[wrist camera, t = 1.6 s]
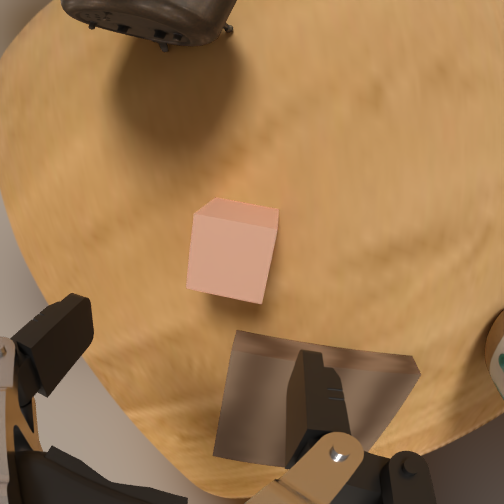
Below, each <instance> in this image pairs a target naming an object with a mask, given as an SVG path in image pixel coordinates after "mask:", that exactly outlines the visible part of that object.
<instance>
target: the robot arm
mask: <svg viewBox="0 0 504 504" xmlns="http://www.w3.org/2000/svg"><path fill="white" fill-rule="evenodd" d="M93 335H94V328H93V320H92V311H91V302H90V300H89V298H86V297H83V296H80V295H77V294H74V293H71V294H69V295H68V296H67V297H65V298H64V299H63V300H62V301H61V302H56V303H54V304H52V305H49V306H47V307H46V308H45V309H44V310H43V311H41V312H40V314H38V315H37V316H35V317H34V319H33V320H31V321H30V322H29V323H27V324H26V325H25V326H24V327H23V328H22V329H21V330H19V331H18V332H17V333H16V334H15V335H14V336H13V337H12V338H10V339H9V338H7V337H0V504H187V503H188V498H186V497H182V496H178V495H174V494H171V493H167V492H164V491H160V490H157V489H153V488H150V487H141V486H133V485H126V484H119V483H114V482H111V481H108V480H107V479H105V478H104V477H103V476H101V475H100V474H98V473H97V472H96V471H94V470H93V469H92V468H90V467H89V466H88V465H86V464H85V463H84V462H82V461H81V460H79V459H77V458H75V457H73V456H71V455H69V454H67V453H65V452H63V451H61V450H60V449H58V448H56V447H54V446H51V448H50V449H49V451H48V452H43V450H42V447H41V445H40V441H39V436H38V427H37V417H36V403H35V398H34V395H35V394H36V393H37V392H38V393H40V394H42V395H44V396H45V397H48V396H49V395H50V394H51V393H52V391H53V390H54V389H55V387H56V386H57V385H58V384H59V382H60V381H61V380H62V379H63V377H64V376H65V375H66V374H67V372H68V371H69V370H70V369H71V367H72V366H73V365H74V364H75V362H76V361H77V360H78V359H79V358H80V356H81V355H82V354H83V353H84V352H85V350H86V349H87V348H88V347H89V346H90V344H91V342H92V340H93ZM344 399H345V398H344V393H343V388H342V383H341V378H340V377H339V375H338V374H337V373H336V371H335V370H334V368H330V367H324V362H323V356H322V353H321V352H316V351H310V350H303V349H301V350H300V351H299V354H298V356H297V359H296V362H295V365H294V368H293V371H292V374H291V376H290V379H289V382H288V387H287V394H286V446H285V469H290V470H288V471H287V472H286V473H285V474H284V475H283V476H282V477H281V478H279V479H278V480H277V479H275V480H273V481H272V482H270V483H269V484H268V485H267V486H265V487H264V488H263V489H262V490H261V491H259V492H258V493H257V494H256V495H255V496H253V497H252V498H251V499H250V500H248V501H247V502H246V503H245V504H436V498H435V494H434V489H433V484H432V480H431V476H430V472H429V468H428V465H427V463H426V461H425V460H424V459H423V458H422V457H421V456H420V455H419V454H417V453H414V452H411V451H401V452H398V453H396V454H395V455H394V456H393V457H392V458H391V459H389V458H385V457H381V456H378V455H374V454H371V453H368V452H366V451H364V450H363V447H362V445H361V444H360V442H359V441H358V440H357V439H356V438H354V437H353V436H352V435H351V431H350V425H349V419H348V414H347V408H346V403H345V401H344Z"/></svg>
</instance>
